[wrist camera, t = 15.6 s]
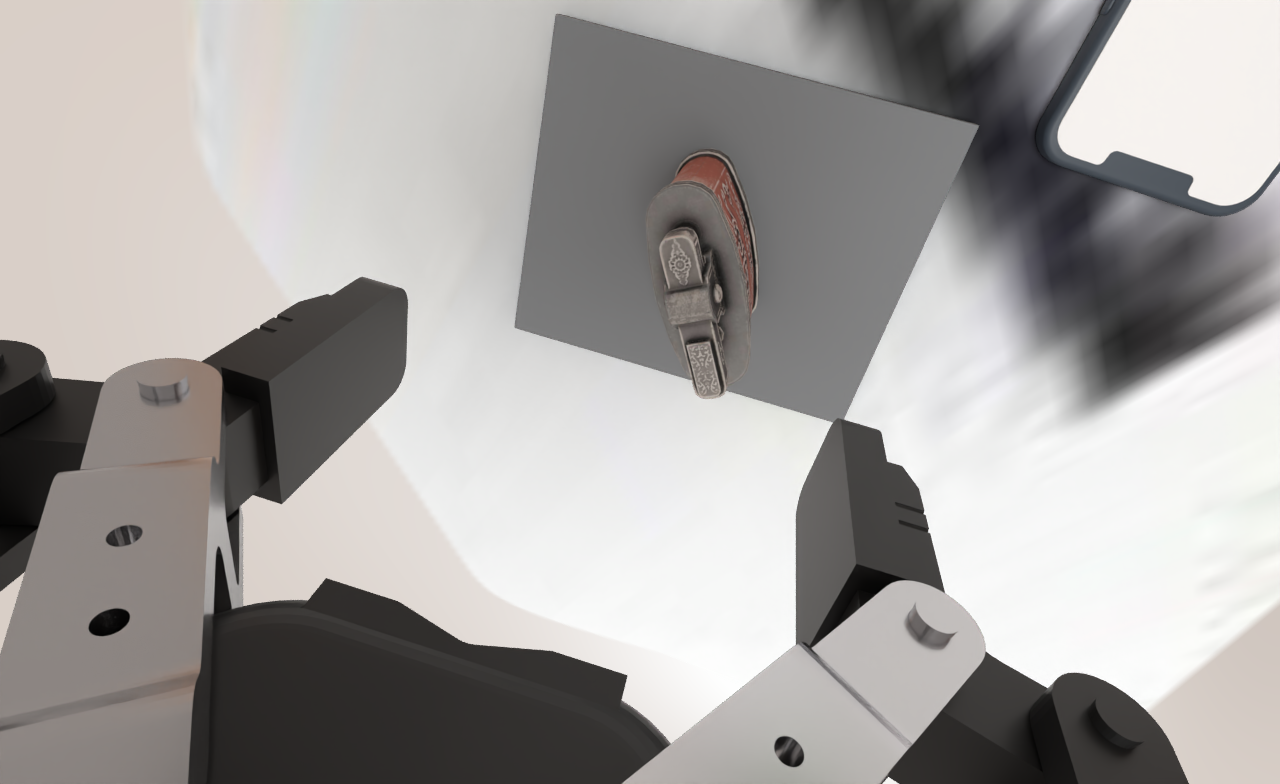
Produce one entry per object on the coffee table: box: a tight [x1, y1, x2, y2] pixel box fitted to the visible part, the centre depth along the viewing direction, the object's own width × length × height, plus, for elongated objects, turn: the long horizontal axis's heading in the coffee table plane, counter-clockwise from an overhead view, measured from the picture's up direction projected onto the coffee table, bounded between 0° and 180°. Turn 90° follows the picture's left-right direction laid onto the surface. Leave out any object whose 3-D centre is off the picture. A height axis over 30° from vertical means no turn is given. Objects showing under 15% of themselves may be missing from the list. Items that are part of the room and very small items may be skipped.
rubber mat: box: [515, 14, 979, 422], centre depth 31 cm, size 15×18×1 cm
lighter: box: [646, 148, 759, 399], centre depth 27 cm, size 8×3×10 cm, turn 15°
